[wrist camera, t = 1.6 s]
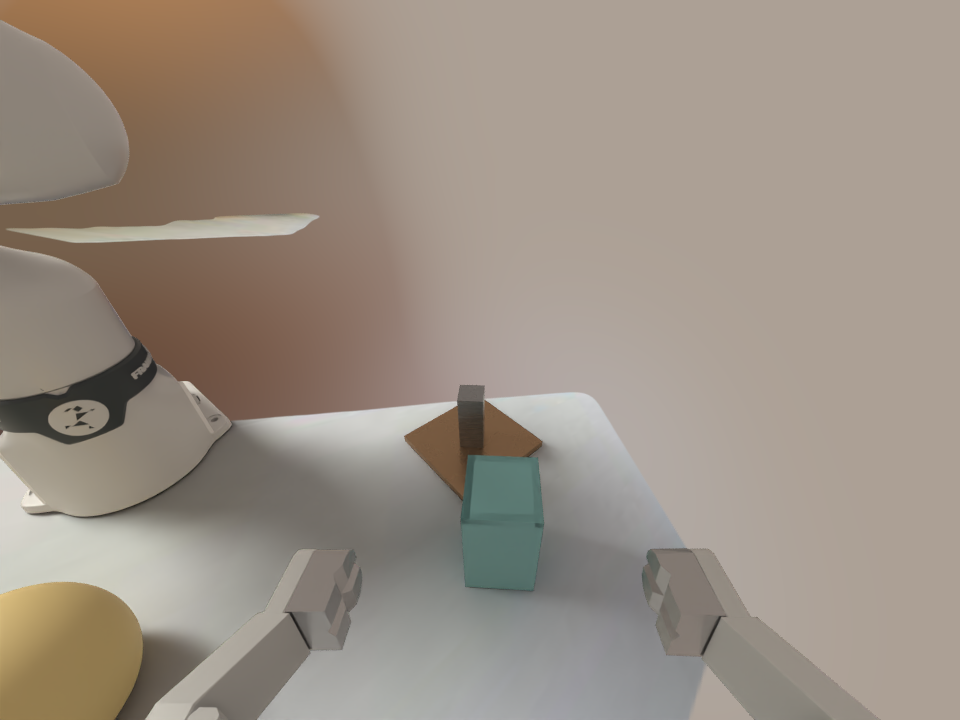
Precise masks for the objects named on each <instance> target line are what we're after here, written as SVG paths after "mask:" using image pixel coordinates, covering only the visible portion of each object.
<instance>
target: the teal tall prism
mask: <svg viewBox="0 0 960 720" xmlns="http://www.w3.org/2000/svg"><path fill="white" fill-rule="evenodd" d="M543 527H544V517H543V507H542V496H541V486H540V475H539V464H538V458H535V457H510V456H485V455H468V459H467V468H466V477H465V486H464V495H463V504H462V512H461V530H462V544H463V559H464V573H465V587H479V588H496V589H512V590H529V591H533V590H534V584H535V578H536V571H537V565H538V559H539V552H540V546H541V540H542V533H543Z"/></svg>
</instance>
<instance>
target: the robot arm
mask: <svg viewBox="0 0 960 720" xmlns="http://www.w3.org/2000/svg"><path fill="white" fill-rule="evenodd" d="M128 160H129V143H128V138H127V134H126V131H125V128H124V125H123V122H122V120H121V118H120V116H119V114H118V112H117V111H116V109H115V107H114V106H113V104H112V103H111V101H110V100H109V98H108V97H107V96H106V95H105V93H104V92H103V90H102V89H101V88H100V87H99V86H98V85H97V84H96V82H95V81H94V80H93V79H92V78H91V77H90V76H89V75H88V74H87V73H86V72H85V71H84V70H82V69H81V68H80V67H79V66H78V65H77V64H75V63H74V62H73V61H72V60H71V59H69V58H68V57H67V56H65V55H64V54H62V53H61V52H60V51H58V50H57V49H55V48H54V47H52V46H51V45H49V44H48V43H46V42H45V41H42V40H40V39H38V38H36V37H34V36H32V35H29V34H27V33H25V32H23V31H21V30H19V29H17V28H15V27H13V26H11V25H9V24H8V23H6V22H4V21H2V20H0V205H3V204H16V203H28V202H41V201H53V200H58V199H62V198H66V197H70V196H74V195H78V194H82V193H86V192H90V191H93V190H97V189H101V188H104V187H108V186H111V185H114V184H118V183H119V182H120V180H121V179H122V177H123V175H124V173H125V171H126V168H127V165H128ZM231 425H232V423H231V422H230V420H229V419H228V418H227V417H226V416H225V415H224V414H223V413H222V412H221V411H220V410H219V409H218V408H217V407H216V406H215V405H214V404H213V403H211V402H210V401H209V400H208V399H207V398H206V397H205V396H204V395H203V394H202V393H201V392H200V391H199V390H198V389H197V388H196V387H195V386H194V385H192V384H191V383H190V382H188V381H183V382H178V381H177V380H176V379H175V378H174V377H173V376H172V375H171V374H170V373H169V372H167V371H166V370H165V369H164V368H163V367H161V366H160V365H157V364H156V363H155V361H154V360H153V359H152V356H151V354H150V352H149V351H148V349H147V348H146V347H145V346H144V345H142V343H141V342H140V341H139V340H138V339H137V338H135V337H133V336H131V335H130V333H129V332H128V330H127V329H126V327H125V326H124V324H123V323H122V321H121V319H120V318H119V317H118V315H117V313H116V312H115V310H114V309H113V307H112V305H111V304H110V302H109V301H108V299H107V298H106V296H105V295H104V293H103V291H102V290H101V288H100V287H99V285H98V284H97V282H96V281H95V280H94V279H93V278H92V277H91V276H90V275H89V274H87V273H86V272H84V271H83V270H81V269H80V268H78V267H76V266H74V265H72V264H70V263H68V262H66V261H64V260H61V259H58V258H55V257H52V256H48V255H44V254H39V253H34V252H29V251H22V250H17V249H12V248H7V247H3V246H1V245H0V429H1V430H3V433H2V434H1V436H0V458H1V459H2V460H3V461H4V462H5V463H6V464H7V466H8V467H9V468H10V469H11V470H12V471H13V472H14V473H15V474H16V475H17V476H18V477H19V479H20V480H21V481H22V482H23V483H24V484H25V485H26V486H27V487H28V488H29V489H28V490H27V492H26V494H25V496H24V498H23V499H22V501H21V507H22V508H23V509H24V510H25V512H27V513H43V512H51V511H58V512H62V513H65V514H69V515H73V516H96V515H102V514H107V513H111V512H115V511H118V510H122V509H125V508H127V507H130V506H133V505H135V504H138V503H140V502H142V501H144V500H147V499H149V498H151V497H153V496H154V495H156V494H158V493H160V492H162V491H163V490H165V489H167V488H168V487H170V486H171V485H173V484H174V483H176V482H177V481H179V480H180V479H181V478H183V477H184V476H185V475H186V474H188V473H189V472H190V471H191V470H192V469H193V468H194V467H195V466H196V465H197V464H198V463H199V462H200V461H201V460H202V458H203V457H204V456H205V454H206V453H207V451H208V450H209V448H210V447H211V445H212V444H213V443H214V442H215V441H216V440H217V439H218V438H219V437H221V436H222V435H223V434H224V433H225V432H226V431H227V430H228V429H229V428H230V427H231ZM646 558H647V560H648V563H649V564H647V565H646V566H645V567H644V568H643V573H642V582H643V589H644V593H645V597H646V600H647V603H648V605H649V607H650V608H651V609H652V610H653V611H654V612H655V613H656V614H657V615H658V618H657V621H656V628H657V631H658V633H659V636H660V639H661V642H662V645H663V647H664V650H665V653H666V655H677V656H699V657H702V660H703V661H704V662H705V663H706V664H707V666H708V667H709V668H710V669H711V670H712V671H713V673H714V674H715V675H716V676H717V677H718V678H719V679H720V681H721V682H722V683H723V684H724V685H725V686H726V687H727V689H728V690H729V691H730V692H731V693H732V694H733V696H734V697H735V698H736V699H737V700H738V701H739V703H740V704H741V705H742V706H743V707H744V708H745V709H746V711H747V712H748V713H749V714H750V715H751V716H752V717H753V719H754V720H880V719H879V718H878V717H876V716H875V715H874V714H873V713H872V712H870V711H869V710H868V709H867V708H866V707H865V706H863V705H862V704H861V703H860V702H858V701H857V700H856V699H855V698H854V697H853V696H851V695H850V694H849V693H848V692H847V691H845V690H844V689H843V688H842V687H841V686H839V685H838V684H837V683H835V682H834V681H833V680H832V679H831V678H830V677H828V676H827V675H826V674H825V673H824V672H822V671H821V670H820V669H819V668H818V667H816V666H815V665H814V664H813V663H811V662H810V661H809V660H808V659H807V658H806V657H804V656H803V655H802V654H801V653H800V652H798V651H797V650H796V649H795V648H794V647H792V646H791V645H790V644H789V643H787V642H786V641H785V640H784V639H783V638H782V637H780V636H779V635H778V634H777V633H775V632H774V631H773V630H772V629H771V628H769V627H768V626H767V625H766V624H765V623H764V622H762V621H761V620H760V619H759V618H758V617H751V616H750V615H749V613H748V611H747V610H746V608H745V606H744V604H743V603H742V601H741V599H740V597H739V596H738V594H737V592H736V591H735V589H734V587H733V585H732V584H731V582H730V580H729V579H728V577H727V575H726V573H725V572H724V570H723V568H722V567H721V565H720V563H719V561H718V560H717V558H716V556H715V555H714V553H712V551H711V550H709V549H687V548H681V549H650V550H649V551H648V553H647V556H646ZM355 560H356V555H355V552H354V550H319V549H299V550H298V551H297V552H296V553H295V555H294V556H293V557H292V559H291V561H290V563H289V565H288V567H287V569H286V571H285V573H284V575H283V576H282V578H281V580H280V582H279V584H278V586H277V588H276V590H275V592H274V594H273V595H272V597H271V599H270V601H269V603H268V605H267V607H266V609H265V611H264V612H259V613H257V614H256V615H255V616H254V617H253V618H251V619H250V620H249V621H248V622H247V623H246V624H245V625H244V626H242V627H241V628H240V629H239V630H238V631H237V632H236V633H235V634H233V635H232V636H231V637H230V638H229V639H228V640H227V641H225V642H224V643H223V644H222V645H221V646H220V647H219V648H218V649H216V650H215V651H214V652H213V653H212V654H211V655H210V656H209V657H207V658H206V659H205V660H204V661H203V662H202V663H201V664H200V665H198V666H197V667H196V668H195V669H194V670H193V671H192V672H191V673H189V674H188V675H187V676H186V677H185V678H184V679H183V680H182V681H180V682H179V683H178V684H177V685H176V686H175V687H174V688H172V689H171V690H170V691H169V692H168V693H167V694H166V695H165V696H163V697H162V698H161V699H160V700H159V701H158V702H157V703H156V704H155V705H154V707H153V708H152V710H151V711H150V713H149V715H148V716H147V718H146V719H145V720H257V718H258V717H259V716H260V715H261V713H262V712H263V711H264V710H265V708H266V707H267V706H268V705H269V704H270V702H271V701H272V700H273V699H274V697H275V696H276V695H277V694H278V692H279V691H280V690H281V689H282V687H283V686H284V685H285V684H286V683H287V681H288V680H289V679H290V678H291V676H292V675H293V674H294V673H295V671H296V670H297V669H298V668H299V667H300V665H301V664H302V663H303V662H304V660H305V659H306V658H307V657H308V655H309V654H310V651H315V650H342V649H343V646H344V643H345V639H346V636H347V633H348V630H349V627H350V624H351V619H350V616H349V611H350V610H351V609H352V608H353V607H354V606H355V605H356V604H357V602H358V598H359V595H360V592H361V584H362V572H361V569H360V567H359V566H358V565H357V564H355Z"/></svg>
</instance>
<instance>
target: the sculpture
mask: <svg viewBox="0 0 960 720" xmlns="http://www.w3.org/2000/svg"><path fill="white" fill-rule="evenodd" d="M142 655H143V639H142V633H141V629H140V625H139V623H138V620H137V618H136V616H135V615H134V613H133V612H132V610H131V609H130V608H129V607H128V606H127V604H126V603H124V602H123V601H122V600H121V599H120V598H118V597H117V596H116V595H114V594H112V593H110V592H109V591H107V590H104V589H102V588H99V587H96V586H93V585H89V584H83V583H76V582H52V583H43V584H37V585H32V586H27V587H23V588H19V589H16V590H13V591H9V592H7V593H4V594H1V595H0V720H115V718H116V717H117V715H118V714H119V712H120V710H121V709H122V707H123V706H124V704H125V702H126V700H127V699H128V697H129V695H130V693H131V691H132V689H133V687H134V684H135V682H136V679H137V676H138V673H139V670H140V666H141V661H142Z"/></svg>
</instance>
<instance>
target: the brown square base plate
mask: <svg viewBox="0 0 960 720" xmlns="http://www.w3.org/2000/svg"><path fill="white" fill-rule="evenodd" d="M457 405H458V406H456V407H454V408H453V409H451V410H449V411H447V412H446V413H444V414H442V415H440V416H439V417H437V418H435V419H433V420H432V421H430V422H428V423H426V424H425V425H423V426H421V427H419V428H418V429H416V430H414V431H412V432H411V433H409V434H407V435H405V436H404V437H405V441H406V442H407V443H408V444H409V445H410V446H411V447H412V448H413V449H414V450H415V451H416V453H417V454H418V455H419V456H420V457H421V458H422V459H423V460H424V461H425V462H426V463H427V464H428V465H429V466H430V467H431V468H432V469H433V470H434V471H435V472H436V473H437V474H438V475H439V476H440V478H441V479H442V480H443V481H444V482H445V483H446V484H447V485H448V486H449V487H450V488H451V489H452V490H453V491H454V492H455V493H456V494H457V495H458V496H459V497H460V498H461V499H462V500H463V495H464V486H465V477H466V468H467V459H468V455H485V456H510V457H528V456H530V455H531V454H532V453H533V452H535V451H536V450H537V449H539V448H540V447H541V446H542V441H541V440H540V439H538V438H537V437H536V436H534V435H533V434H531V433H530V432H529V431H527V430H526V429H524V428H523V427H522V426H520V425H519V424H518V423H516V422H515V421H513V420H512V419H511V418H509V417H508V416H506V415H505V414H504V413H502V412H501V411H499V410H498V409H497V408H495V407H494V406H493V405H491V404H490V403H488V402H487V401H486V400H484V386H478V385H460V388H459V394H458V400H457Z"/></svg>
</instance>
